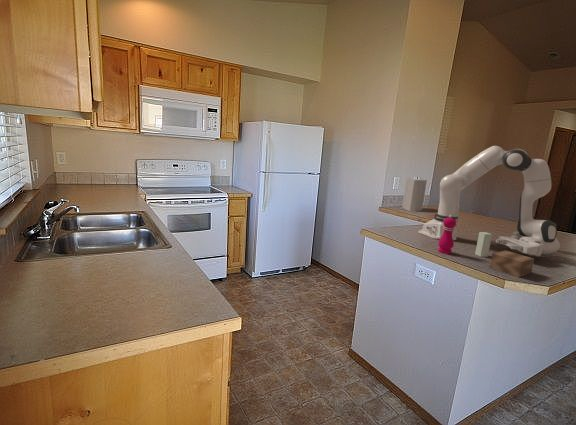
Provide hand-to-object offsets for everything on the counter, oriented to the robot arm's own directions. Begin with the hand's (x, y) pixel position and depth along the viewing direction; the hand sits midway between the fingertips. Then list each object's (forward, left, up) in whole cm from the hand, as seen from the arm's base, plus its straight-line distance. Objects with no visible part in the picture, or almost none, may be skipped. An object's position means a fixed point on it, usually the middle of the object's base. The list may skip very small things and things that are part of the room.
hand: (503, 244), depth 165 cm
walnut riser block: (+13, -20, -7) cm, 25 cm away
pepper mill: (-16, -25, -7) cm, 31 cm away
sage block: (-5, -10, -7) cm, 13 cm away
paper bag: (-108, +72, -7) cm, 130 cm away
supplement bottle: (-5, +26, -7) cm, 27 cm away
